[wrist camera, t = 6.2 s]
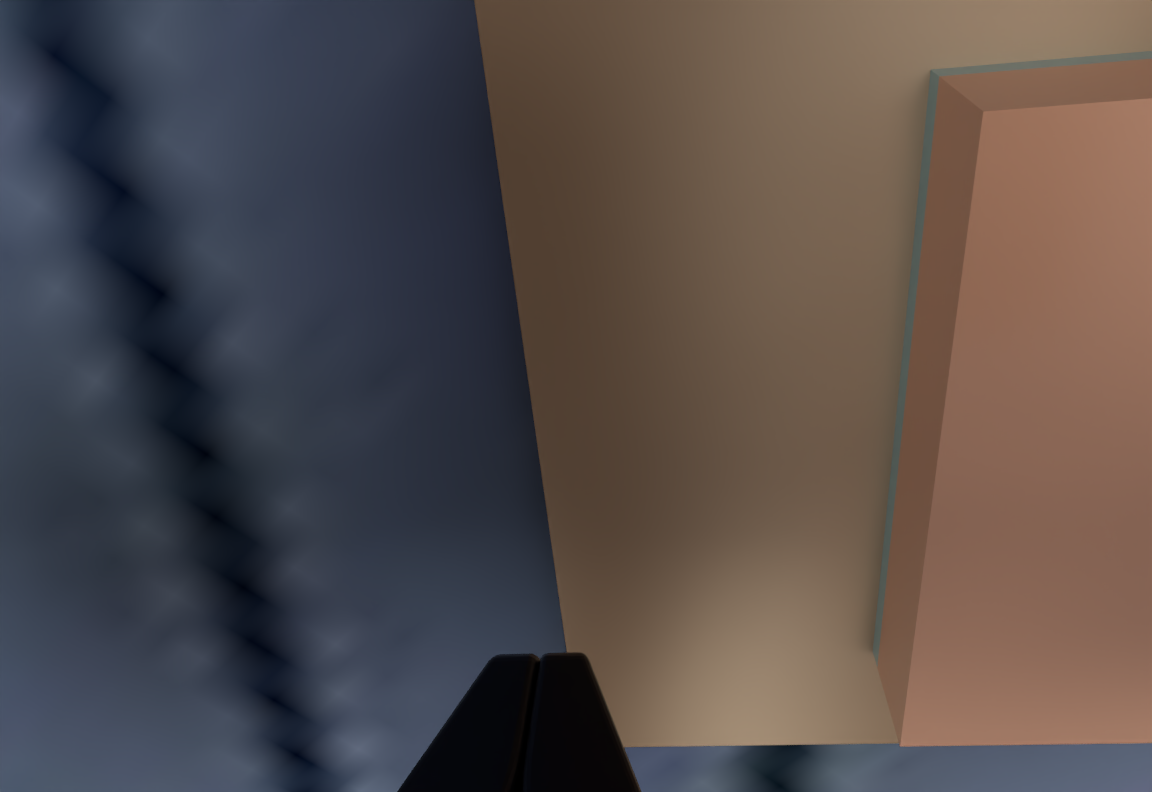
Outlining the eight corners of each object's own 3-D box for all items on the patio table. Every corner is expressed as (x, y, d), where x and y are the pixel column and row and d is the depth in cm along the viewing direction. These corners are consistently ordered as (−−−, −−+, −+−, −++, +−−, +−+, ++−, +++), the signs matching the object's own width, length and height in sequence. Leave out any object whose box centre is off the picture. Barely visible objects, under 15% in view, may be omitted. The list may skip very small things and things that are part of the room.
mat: (581, 727, 15) (580, 747, 15) (464, -119, 9) (457, -117, 8) (1529, 711, 13) (1552, 734, 13) (2192, -308, 7) (2265, -314, 7)
